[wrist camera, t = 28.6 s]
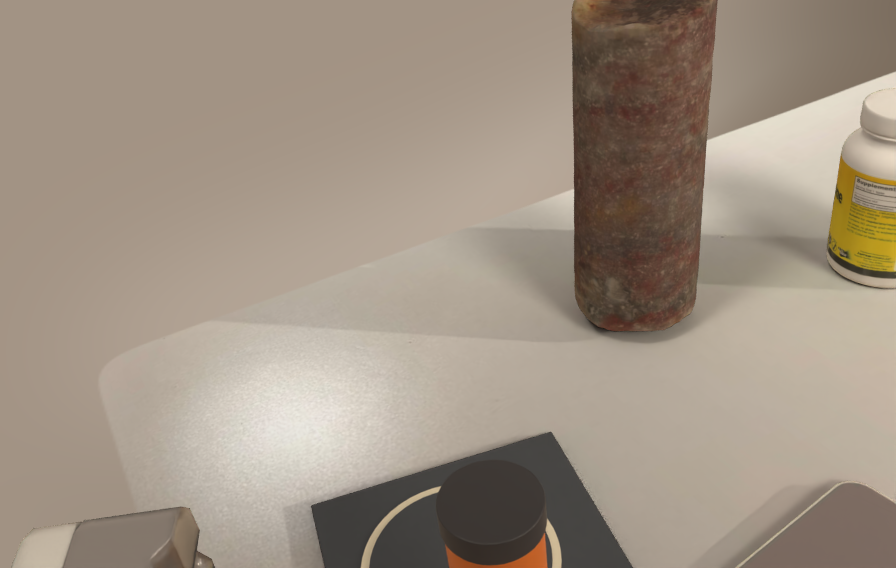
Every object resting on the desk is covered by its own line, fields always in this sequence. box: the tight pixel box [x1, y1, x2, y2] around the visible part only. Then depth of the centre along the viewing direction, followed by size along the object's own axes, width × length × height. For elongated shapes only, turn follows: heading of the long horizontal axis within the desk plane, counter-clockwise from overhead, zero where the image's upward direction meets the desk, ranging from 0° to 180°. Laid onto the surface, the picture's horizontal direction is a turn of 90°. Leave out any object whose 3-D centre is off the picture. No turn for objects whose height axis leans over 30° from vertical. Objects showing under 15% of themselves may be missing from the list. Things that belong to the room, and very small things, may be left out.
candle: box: [572, 0, 717, 331], centre depth 48 cm, size 8×7×20 cm
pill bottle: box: [827, 88, 896, 288], centre depth 52 cm, size 6×6×11 cm
